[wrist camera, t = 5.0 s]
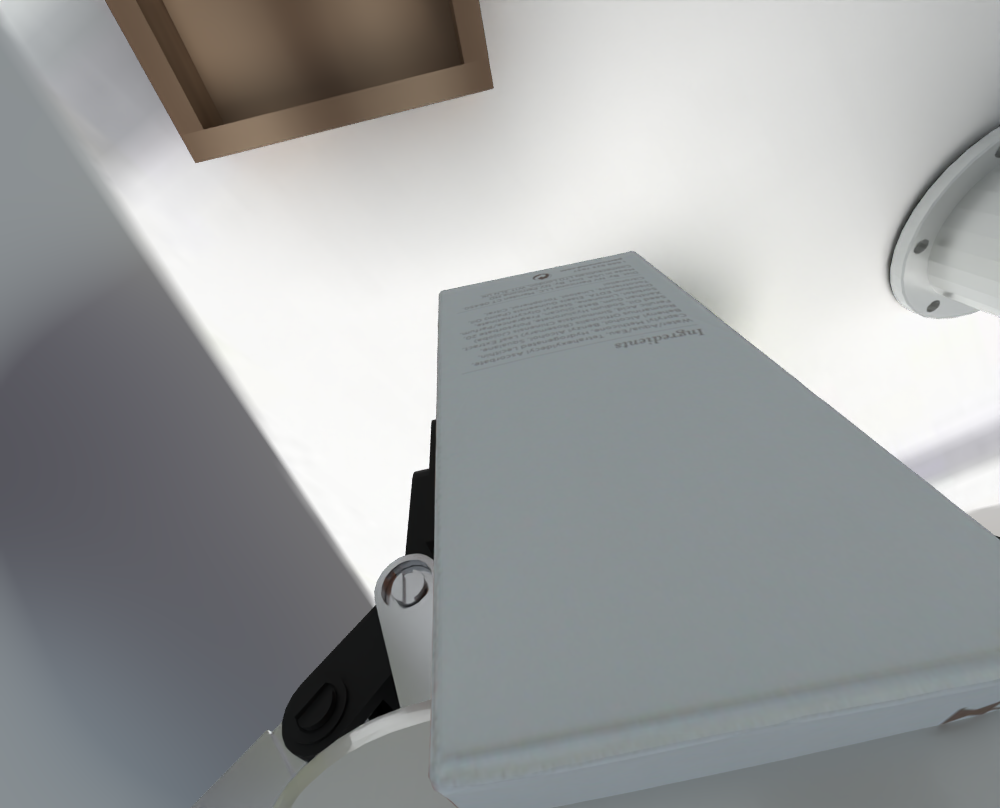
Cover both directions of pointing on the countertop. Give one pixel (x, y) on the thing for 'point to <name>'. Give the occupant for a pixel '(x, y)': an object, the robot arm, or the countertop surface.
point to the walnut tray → (300, 63)
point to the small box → (672, 553)
